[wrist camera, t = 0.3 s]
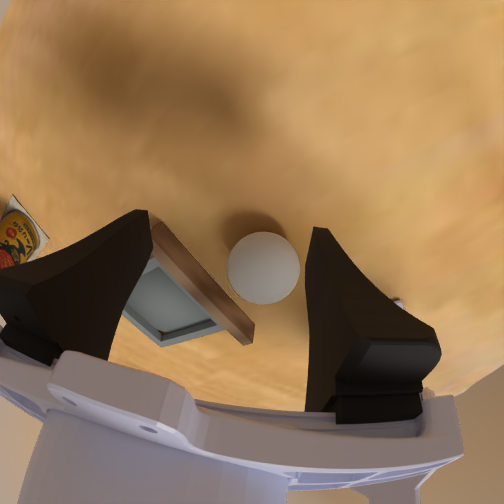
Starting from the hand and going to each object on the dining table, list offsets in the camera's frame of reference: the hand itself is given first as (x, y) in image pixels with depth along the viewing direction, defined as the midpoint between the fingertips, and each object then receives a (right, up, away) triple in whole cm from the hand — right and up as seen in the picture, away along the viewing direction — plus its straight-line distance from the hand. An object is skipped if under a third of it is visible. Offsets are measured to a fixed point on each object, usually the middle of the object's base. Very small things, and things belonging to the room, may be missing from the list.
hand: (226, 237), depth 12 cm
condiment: (-27, +2, +15) cm, 31 cm away
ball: (+2, 0, +12) cm, 13 cm away
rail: (-3, -3, +16) cm, 16 cm away
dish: (-9, -6, +18) cm, 21 cm away
